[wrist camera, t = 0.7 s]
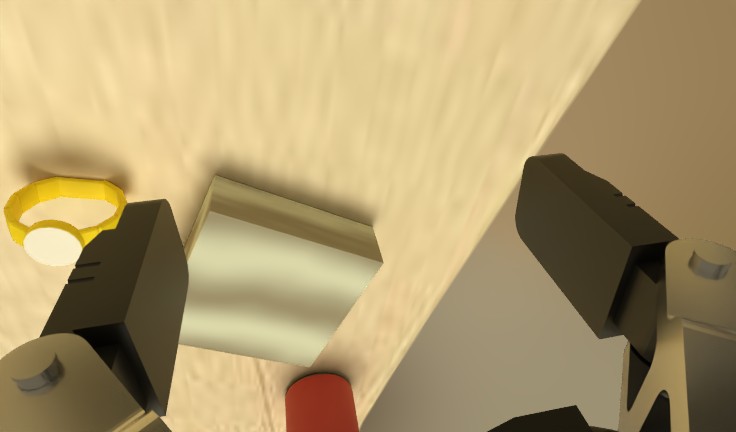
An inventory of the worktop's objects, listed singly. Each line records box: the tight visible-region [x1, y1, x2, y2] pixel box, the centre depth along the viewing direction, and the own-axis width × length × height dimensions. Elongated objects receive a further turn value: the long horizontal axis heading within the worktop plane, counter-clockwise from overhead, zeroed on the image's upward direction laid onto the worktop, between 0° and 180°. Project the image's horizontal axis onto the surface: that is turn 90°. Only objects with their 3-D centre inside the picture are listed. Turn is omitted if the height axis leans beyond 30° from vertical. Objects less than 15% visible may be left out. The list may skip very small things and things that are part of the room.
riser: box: [178, 175, 383, 368], centre depth 35 cm, size 12×12×4 cm
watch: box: [4, 177, 127, 266], centre depth 28 cm, size 6×3×6 cm, turn 77°
